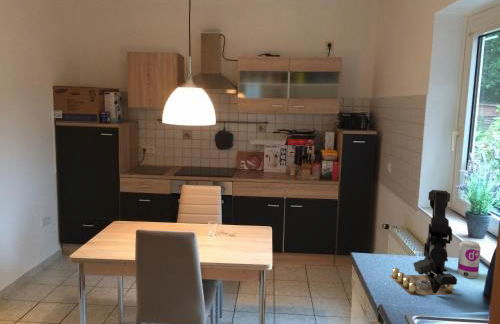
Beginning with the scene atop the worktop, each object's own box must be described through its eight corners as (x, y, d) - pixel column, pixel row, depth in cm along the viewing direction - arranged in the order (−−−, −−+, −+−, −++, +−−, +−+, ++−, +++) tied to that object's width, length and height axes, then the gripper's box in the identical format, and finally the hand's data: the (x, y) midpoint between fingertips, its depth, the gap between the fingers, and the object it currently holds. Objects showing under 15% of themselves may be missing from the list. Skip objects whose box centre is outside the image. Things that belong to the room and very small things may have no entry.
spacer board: (428, 276, 181) (429, 274, 181) (455, 296, 161) (455, 294, 161) (388, 277, 179) (388, 275, 179) (410, 297, 159) (410, 295, 159)
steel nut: (425, 283, 171) (426, 279, 171) (433, 289, 165) (433, 284, 165) (414, 284, 170) (414, 279, 170) (421, 289, 165) (421, 285, 164)
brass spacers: (430, 276, 179) (430, 267, 179) (453, 293, 162) (454, 283, 161) (391, 276, 178) (391, 267, 177) (410, 294, 160) (411, 284, 160)
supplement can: (480, 279, 179) (483, 246, 178) (460, 277, 181) (463, 244, 179) (474, 272, 187) (477, 240, 185) (454, 271, 189) (457, 239, 187)
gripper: (405, 246, 166) (403, 283, 168) (430, 263, 148) (427, 304, 150) (432, 246, 168) (429, 283, 169) (459, 262, 149) (456, 303, 151)
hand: (434, 293), depth 160 cm, fingers closed
